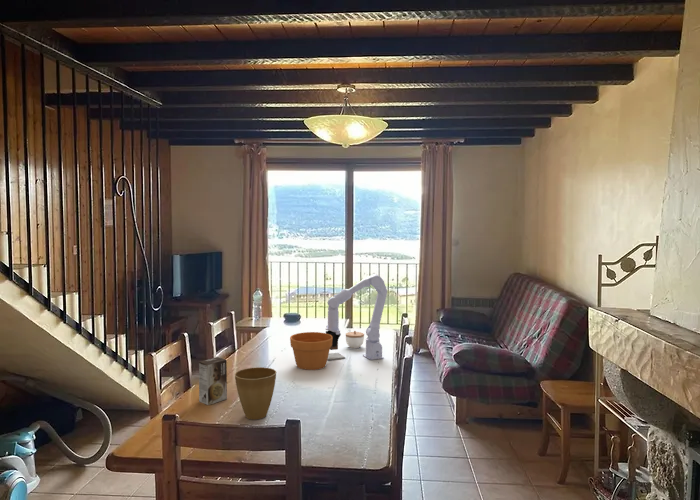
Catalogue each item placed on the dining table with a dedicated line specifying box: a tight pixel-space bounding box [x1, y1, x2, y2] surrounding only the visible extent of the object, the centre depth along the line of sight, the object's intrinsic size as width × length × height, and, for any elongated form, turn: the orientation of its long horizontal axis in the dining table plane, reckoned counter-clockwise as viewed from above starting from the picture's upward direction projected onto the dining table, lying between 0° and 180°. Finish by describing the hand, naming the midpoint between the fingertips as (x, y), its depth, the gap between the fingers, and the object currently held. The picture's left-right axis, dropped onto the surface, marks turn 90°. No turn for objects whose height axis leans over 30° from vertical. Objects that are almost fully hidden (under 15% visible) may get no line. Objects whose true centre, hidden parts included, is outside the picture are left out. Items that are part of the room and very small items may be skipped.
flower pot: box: [289, 331, 333, 371], centre depth 243 cm, size 21×21×15 cm
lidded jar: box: [345, 330, 365, 349], centre depth 282 cm, size 11×11×9 cm
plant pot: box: [234, 366, 277, 420], centre depth 178 cm, size 15×15×16 cm
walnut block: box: [329, 342, 339, 351], centre depth 259 cm, size 4×4×5 cm
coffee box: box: [198, 356, 228, 406], centre depth 193 cm, size 9×6×16 cm
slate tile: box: [327, 352, 346, 361], centre depth 260 cm, size 10×10×1 cm
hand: (332, 345), depth 259 cm, fingers closed on walnut block, 4 cm apart
